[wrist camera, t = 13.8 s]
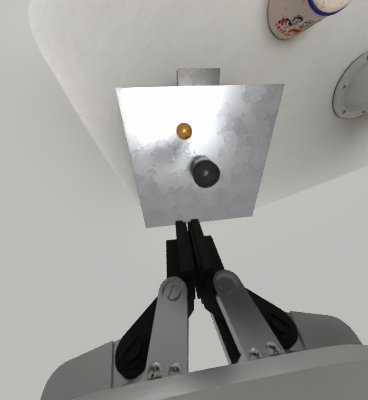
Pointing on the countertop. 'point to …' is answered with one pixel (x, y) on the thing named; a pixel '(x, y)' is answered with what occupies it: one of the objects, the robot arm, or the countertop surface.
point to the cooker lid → (198, 148)
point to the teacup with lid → (300, 14)
